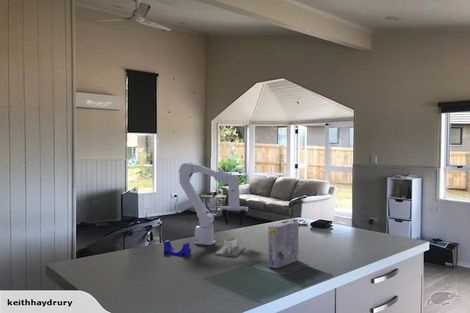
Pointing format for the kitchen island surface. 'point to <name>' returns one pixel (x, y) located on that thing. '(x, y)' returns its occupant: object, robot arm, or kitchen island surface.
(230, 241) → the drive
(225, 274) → the kitchen island surface
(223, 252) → the pin tray
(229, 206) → the robot arm
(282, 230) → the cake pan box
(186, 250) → the cable clip
